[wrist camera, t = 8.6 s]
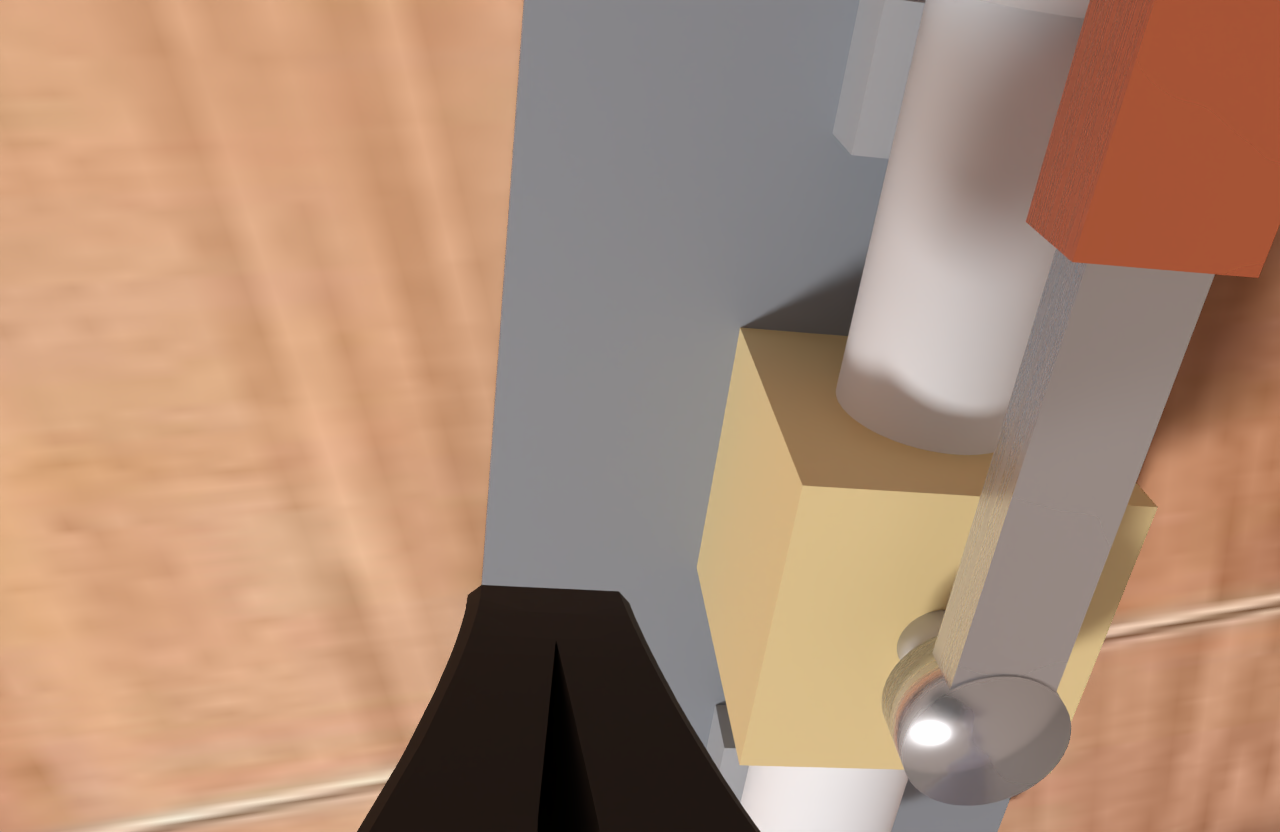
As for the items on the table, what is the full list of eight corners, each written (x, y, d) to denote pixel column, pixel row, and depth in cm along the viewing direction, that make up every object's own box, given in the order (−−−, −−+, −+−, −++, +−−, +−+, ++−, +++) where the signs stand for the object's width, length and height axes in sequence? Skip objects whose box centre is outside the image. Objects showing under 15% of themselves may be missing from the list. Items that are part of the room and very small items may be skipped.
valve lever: (1015, 751, 16) (1049, 819, 15) (865, 748, 16) (890, 816, 15) (1374, -216, 10) (1467, -217, 9) (1151, -250, 10) (1223, -255, 9)
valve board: (975, 815, 27) (1101, 1104, 21) (465, 804, 25) (447, 1114, 19) (1313, -100, 18) (1711, -44, 12) (538, -210, 16) (545, -209, 10)
